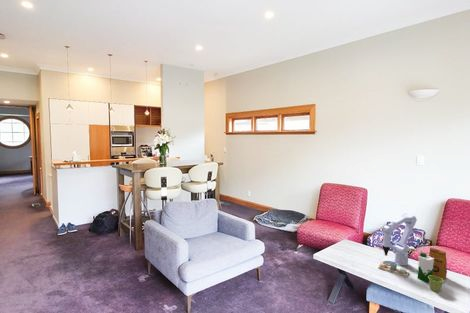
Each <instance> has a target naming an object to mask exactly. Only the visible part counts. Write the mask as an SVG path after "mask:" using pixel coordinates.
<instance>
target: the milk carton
mask: <svg viewBox="0 0 470 313" xmlns="http://www.w3.org/2000/svg"><path fill="white" fill-rule="evenodd" d="M433 263H434V258H432V257H430V256H429V255H428V254H427V253H425V252H420V254H419V255H418V267H417V268H418V269H417V279H419V280H421V281H422V282H425V283H430V282H429V278H428V276H430V275H433Z"/></svg>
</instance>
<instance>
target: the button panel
mask: <svg viewBox="0 0 470 313" xmlns="http://www.w3.org/2000/svg"><path fill="white" fill-rule="evenodd" d="M381 264H382V263H380V264H379V265H378V266H377V267H378V269H379V270H382V271H385V272H389V273H393V274H396V275H400V276H403V277H407V278H408V277H409V274H410V271H408V270H406V274H404V273H401V272H400V269H401V268H398V267H396V270H392V269H391V265H387V268H383V267H381Z"/></svg>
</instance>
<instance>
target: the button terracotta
mask: <svg viewBox="0 0 470 313" xmlns="http://www.w3.org/2000/svg"><path fill="white" fill-rule="evenodd" d="M380 264H381V267H383V268H387V266H388V264H386V263H382V262H381V263H380Z"/></svg>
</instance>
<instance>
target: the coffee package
mask: <svg viewBox="0 0 470 313" xmlns="http://www.w3.org/2000/svg"><path fill="white" fill-rule="evenodd" d="M446 253H447V252H446V251H443V250H440V249H437V248H434V247H429V253H428V256H430V257H432V258H434V263H433V276H437V277H440V278H442V279H443V280H444V281H445V280H446V279H447V272H448V270H447V268H448V267H447V265H448V264H447V262H448V261H447V254H446Z"/></svg>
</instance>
